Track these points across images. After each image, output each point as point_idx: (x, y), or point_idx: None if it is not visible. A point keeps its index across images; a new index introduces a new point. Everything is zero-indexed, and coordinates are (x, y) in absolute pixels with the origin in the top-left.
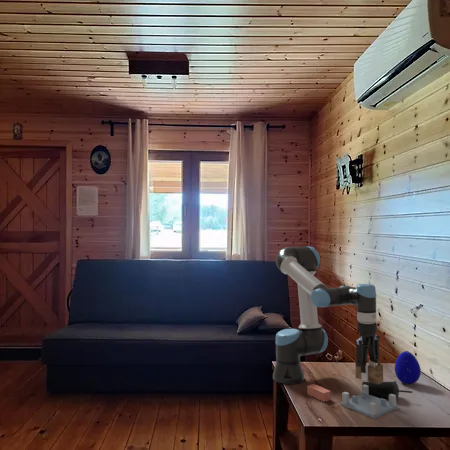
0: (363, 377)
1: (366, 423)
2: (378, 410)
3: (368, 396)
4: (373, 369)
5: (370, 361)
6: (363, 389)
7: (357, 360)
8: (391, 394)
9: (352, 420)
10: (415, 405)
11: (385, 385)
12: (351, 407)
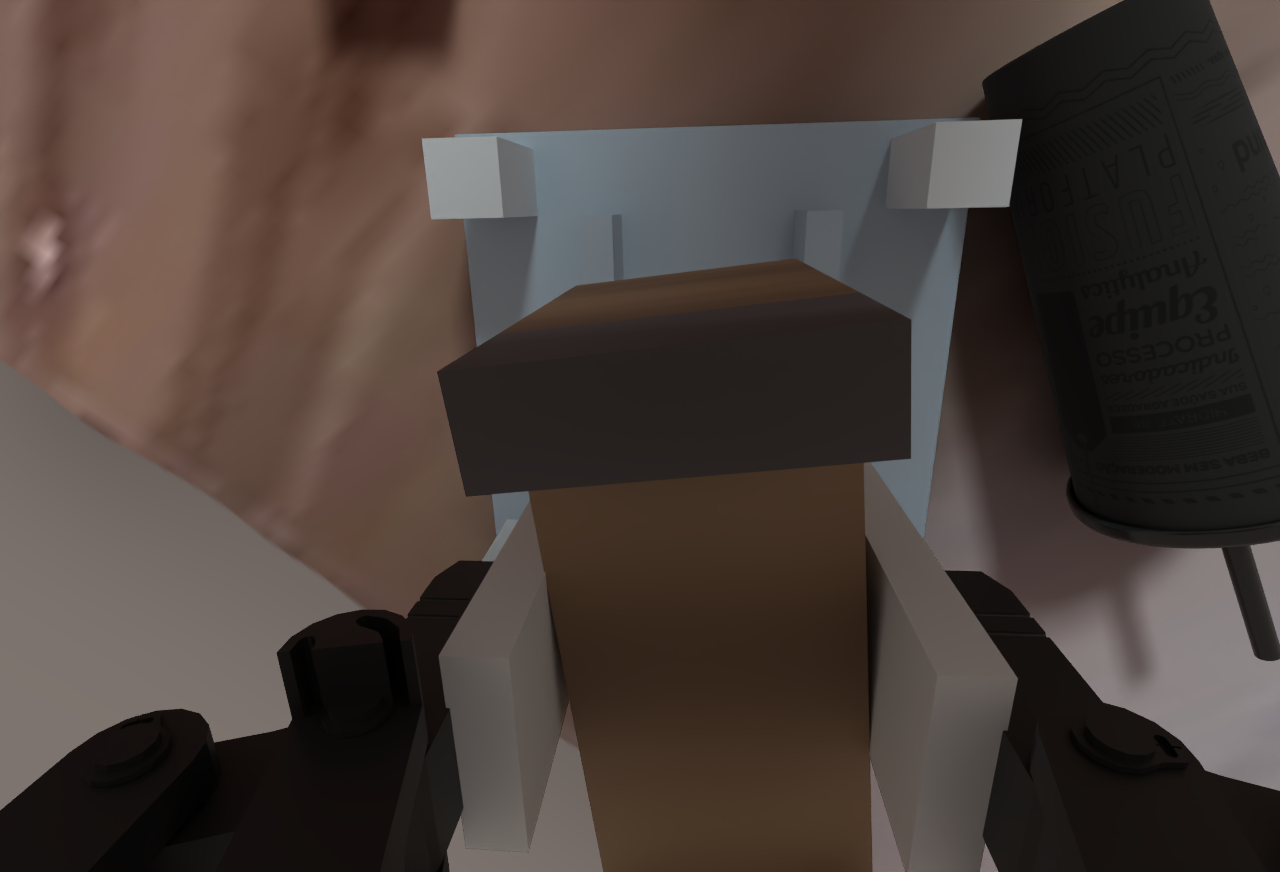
0: None
1: (381, 568)
2: None
3: (904, 235)
4: (669, 824)
5: (967, 731)
6: (913, 165)
7: (2, 857)
8: None
9: (312, 463)
10: (1099, 644)
11: (1164, 418)
12: (475, 306)
